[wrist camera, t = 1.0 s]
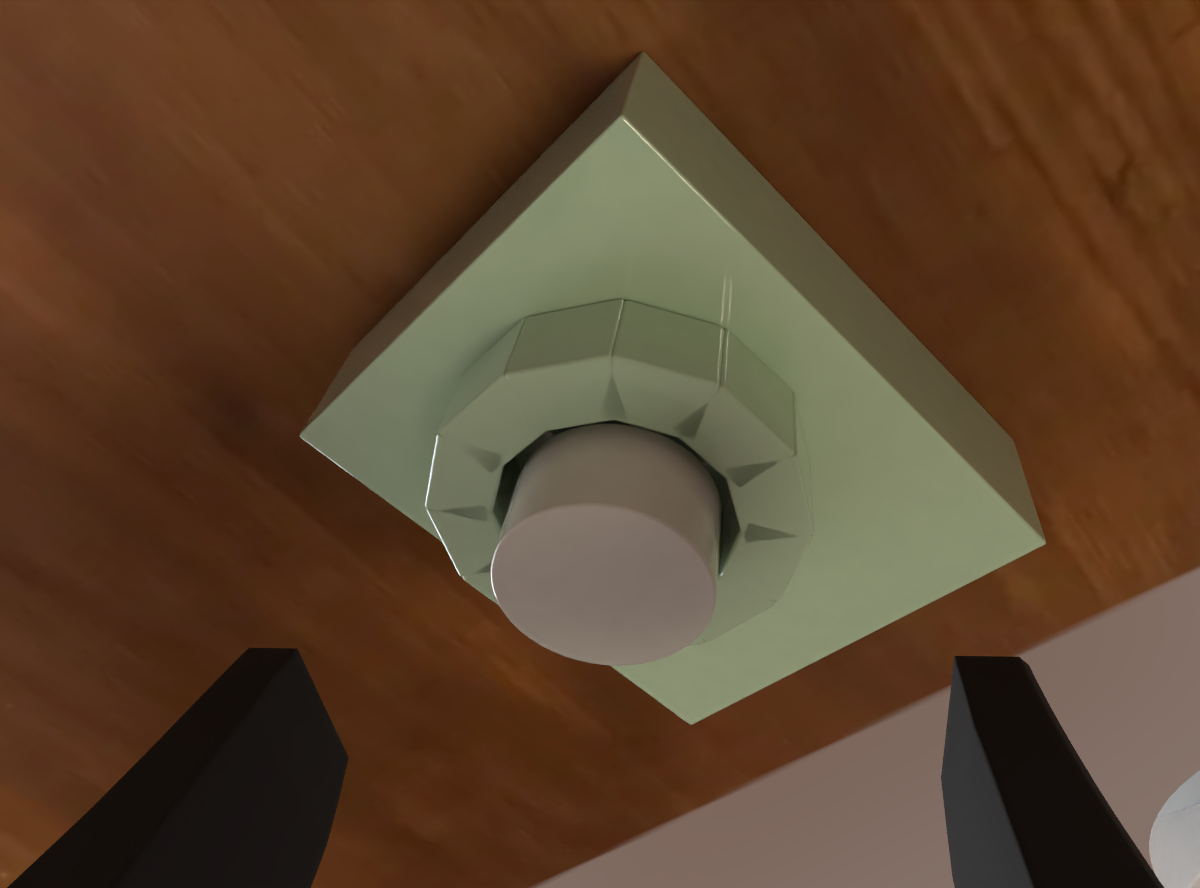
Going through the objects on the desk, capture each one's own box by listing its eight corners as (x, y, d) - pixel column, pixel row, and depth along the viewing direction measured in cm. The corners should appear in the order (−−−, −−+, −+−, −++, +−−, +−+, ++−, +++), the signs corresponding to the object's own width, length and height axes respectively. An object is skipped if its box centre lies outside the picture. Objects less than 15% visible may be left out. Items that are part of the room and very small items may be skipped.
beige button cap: (765, 516, 17) (765, 603, 15) (619, 607, 19) (605, 695, 17) (615, 383, 16) (597, 465, 14) (474, 496, 18) (445, 578, 16)
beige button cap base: (1014, 439, 21) (1071, 616, 17) (698, 622, 25) (685, 795, 21) (643, 49, 17) (606, 161, 13) (352, 348, 22) (259, 497, 18)
